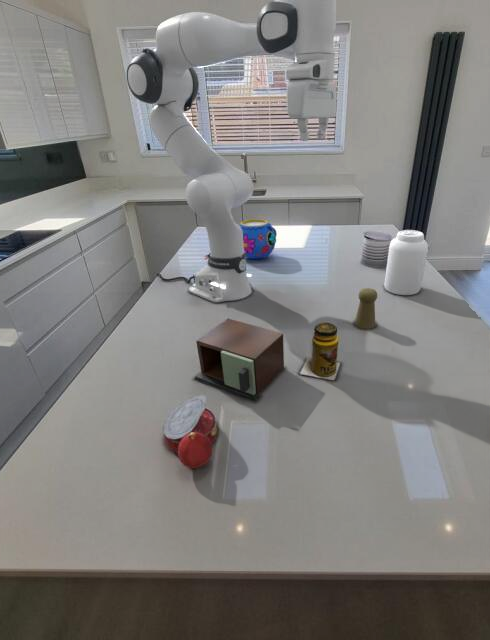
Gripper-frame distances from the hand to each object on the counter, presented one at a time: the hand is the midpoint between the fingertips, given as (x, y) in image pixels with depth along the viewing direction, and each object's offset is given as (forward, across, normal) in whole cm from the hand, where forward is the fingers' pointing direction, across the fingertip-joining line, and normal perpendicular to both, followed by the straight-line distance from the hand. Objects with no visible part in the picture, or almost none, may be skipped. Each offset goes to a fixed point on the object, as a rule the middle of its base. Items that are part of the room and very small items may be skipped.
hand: (313, 139), depth 93 cm
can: (+48, -53, +4) cm, 72 cm away
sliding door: (+47, +45, +4) cm, 65 cm away
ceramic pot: (+48, -36, -44) cm, 74 cm away
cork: (+48, 0, +18) cm, 52 cm away
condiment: (+48, +27, +16) cm, 58 cm away
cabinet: (+48, +37, 0) cm, 61 cm away
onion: (+48, +64, +9) cm, 81 cm away
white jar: (+48, -31, +21) cm, 61 cm away
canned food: (+48, +59, +3) cm, 76 cm away
